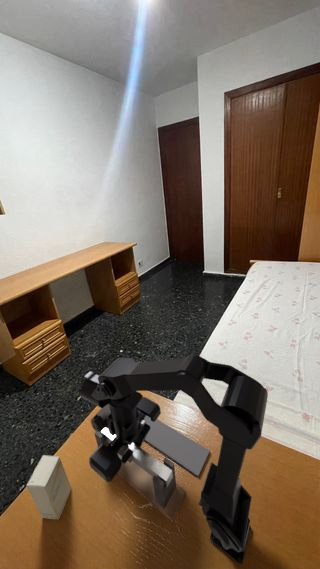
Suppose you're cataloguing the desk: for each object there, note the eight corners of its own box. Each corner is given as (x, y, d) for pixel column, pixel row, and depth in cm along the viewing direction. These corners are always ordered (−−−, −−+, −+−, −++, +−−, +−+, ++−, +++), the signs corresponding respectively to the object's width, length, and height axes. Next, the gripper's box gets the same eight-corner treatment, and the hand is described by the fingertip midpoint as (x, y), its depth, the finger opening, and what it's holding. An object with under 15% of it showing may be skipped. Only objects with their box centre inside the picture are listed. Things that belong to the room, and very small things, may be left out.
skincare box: (59, 520, 51) (44, 488, 47) (41, 518, 52) (24, 486, 47) (72, 486, 57) (60, 455, 52) (55, 485, 58) (42, 454, 53)
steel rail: (172, 477, 51) (172, 470, 50) (167, 487, 49) (166, 481, 48) (105, 427, 63) (104, 421, 62) (99, 434, 61) (97, 428, 60)
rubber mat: (209, 451, 62) (209, 450, 62) (198, 477, 57) (198, 475, 56) (132, 405, 77) (132, 404, 77) (117, 422, 72) (117, 420, 72)
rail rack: (185, 493, 54) (184, 467, 50) (172, 521, 49) (169, 495, 46) (109, 435, 68) (104, 412, 65) (94, 453, 64) (87, 430, 60)
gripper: (126, 371, 62) (133, 412, 68) (66, 427, 48) (81, 472, 54) (159, 387, 56) (164, 431, 62) (101, 457, 42) (114, 505, 48)
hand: (133, 456), depth 56 cm, fingers closed on steel rail, 2 cm apart
